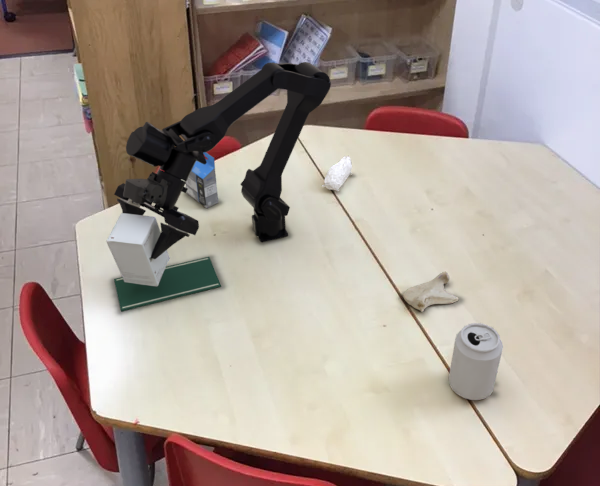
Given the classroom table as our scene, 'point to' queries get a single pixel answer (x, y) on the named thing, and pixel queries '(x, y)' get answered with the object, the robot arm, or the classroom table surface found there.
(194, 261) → the green mat
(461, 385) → the can
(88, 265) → the classroom table surface
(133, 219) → the white packaging box
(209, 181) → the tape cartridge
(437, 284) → the fossil
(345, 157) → the white crumpled lump
